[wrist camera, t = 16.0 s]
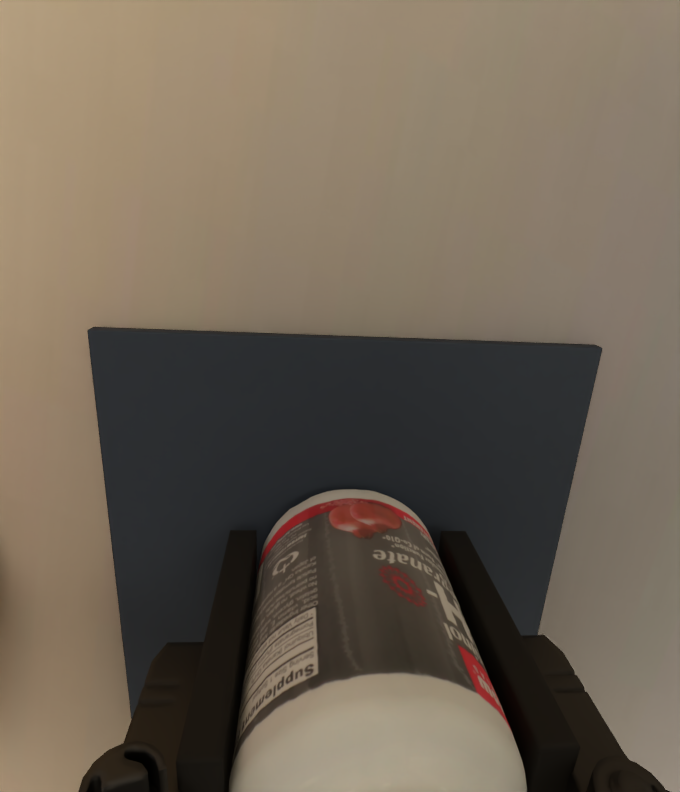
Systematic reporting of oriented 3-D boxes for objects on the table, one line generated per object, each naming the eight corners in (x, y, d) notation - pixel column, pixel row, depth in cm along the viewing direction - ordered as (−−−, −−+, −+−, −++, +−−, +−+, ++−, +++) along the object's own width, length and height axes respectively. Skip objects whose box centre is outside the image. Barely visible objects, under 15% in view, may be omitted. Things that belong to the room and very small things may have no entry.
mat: (595, 344, 14) (603, 347, 14) (515, 704, 19) (519, 714, 18) (92, 326, 13) (86, 329, 13) (135, 716, 18) (132, 727, 17)
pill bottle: (466, 530, 15) (714, 993, 6) (372, 649, 17) (459, 1181, 7) (316, 451, 14) (345, 881, 5) (227, 587, 15) (115, 1130, 6)
